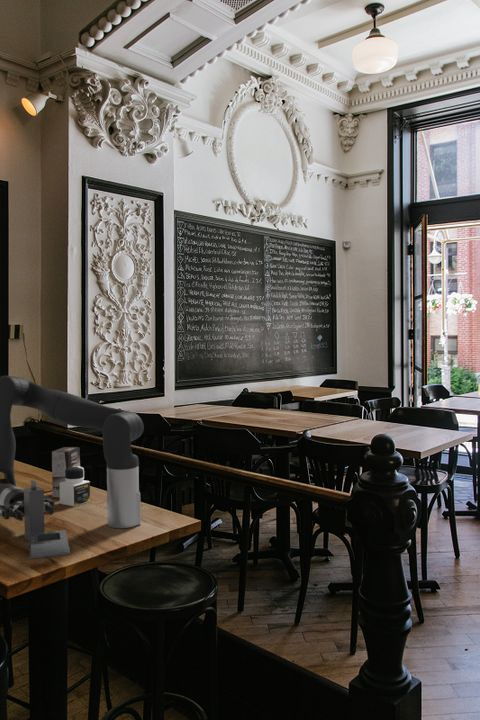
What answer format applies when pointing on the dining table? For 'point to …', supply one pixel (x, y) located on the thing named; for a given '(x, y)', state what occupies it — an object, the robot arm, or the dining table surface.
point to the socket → (48, 544)
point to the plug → (33, 510)
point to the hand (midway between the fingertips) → (36, 514)
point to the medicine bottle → (74, 487)
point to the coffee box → (63, 466)
